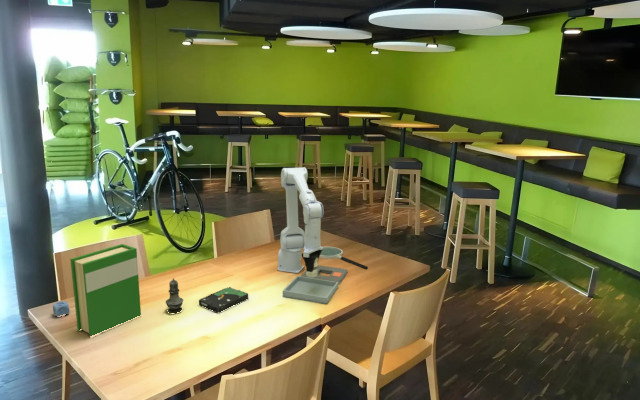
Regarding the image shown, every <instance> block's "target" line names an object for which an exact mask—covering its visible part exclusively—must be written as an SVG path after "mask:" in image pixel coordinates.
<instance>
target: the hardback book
mask: <svg viewBox="0 0 640 400" xmlns="http://www.w3.org/2000/svg"><path fill="white" fill-rule="evenodd" d="M70 267H71V278H72V279H71V280H72V289H73V290H72V291H73V299H74V307H75V317H76V319H75V320H76V327H77V330H78V329H79V330H80V329H82V330H83V331H84V332H86V333H88V336H89V335H90V336H92V335H95V334H97V333H100V332H102V331H104V330H107V329H109V328H112V327H114V326H116V325H118V324H121V323H124V322H126V321H128V320H131V319H133V318H135V317H137V316H140V315H141V316H142V310H141V308H142V307H141V296H140V293H141V292H140V282H139V279H140V278H139V266H138V251H137V248H136V247H134V246H130V245H127V244H124V243H120V244H117V245H114V246H110V247H107V248H104V249H100V250H97V251H96V250H95V251H92V252H89V253H86V254H82V255H79V256H76V257H72V258H70ZM141 316H140V317H141ZM131 321H132V320H131ZM90 336H89V337H90Z"/></svg>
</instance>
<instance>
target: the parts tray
mask: <svg viewBox="0 0 640 400" xmlns="http://www.w3.org/2000/svg"><path fill="white" fill-rule="evenodd" d="M338 289H339V285H338V282H334V281H328V280H322V279H315V278H309V277H302V276H301V275H296V276H295V278H293V279H292V280H291V281H290V282H289V284H287V285H286V286H285V288H284V289H283V290H282V298H286V299H293V300H298V301H305V302H311V303H316V304H320V305H321V304H322V305H328V304H329V302H330V301H331V300H332V298H333V296H334V295H335V293H336V292H337V290H338Z"/></svg>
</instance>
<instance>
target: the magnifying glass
mask: <svg viewBox="0 0 640 400" xmlns="http://www.w3.org/2000/svg"><path fill="white" fill-rule="evenodd" d="M322 247H323V249H322V252H321V254H320V256H319V259H320V258H321V259H326V260H327V259H329V260H330V259H331V260H332V259H334V260H335V259H339V260H341V261H344V262H347V263H349V264H351V265H354V266H355V267H356V266H357V267H359V268H360V269H361V268H362V269H363V270H368V269H369V267H368V265H364V264H363V263H359V262H357V261H355V260H352V259H349V258H347V257H345V256H343V254H344V253H343V249H341V248H338V247H335V246H322Z"/></svg>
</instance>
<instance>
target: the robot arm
mask: <svg viewBox="0 0 640 400" xmlns="http://www.w3.org/2000/svg"><path fill="white" fill-rule="evenodd" d="M308 174H309V173H308V169H307V168H306V167H305V166H302V167H283V168H282V169H281V172H280V184H281V187H282V188H284V189H285V190H284V191H285V200H286V203H285V204H286V227H284V229H282V230H281V232H280V239H279V241H280V243H279V244H280V249H279V250H278V255H277V271H278V272H279V271H280V272H286V273H287V272H288V273H291V274H292V273H293V274H299V273H300V272H301V271H302V270H303V269H304V268H305V271H306V270H307V271H308V272H313V268H314V262H315V259H316V257H318V261H319V259H320V257H319V256H320V254H321V252H322V249H323V247H324V246H322V245H321V244H322V243H321V242H322V241H321V230H322V229H321V226H322V225H321V223H322V222H321V221H322V218H323V217H324V205H323V203H322V202H320V201H318V199H317V197H316V195H315V194H314V192H313V190H312V189H309V186H308V183H307V182H308V177H309V175H308ZM298 193H299V195H298ZM298 198H299V201H300V203H301V205H302V213H303V222H304V229H302V228H301V227H299V207H298V206H299V203H298ZM303 250H304V251H303ZM302 259H303V262H304V264H305V265H302Z"/></svg>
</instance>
